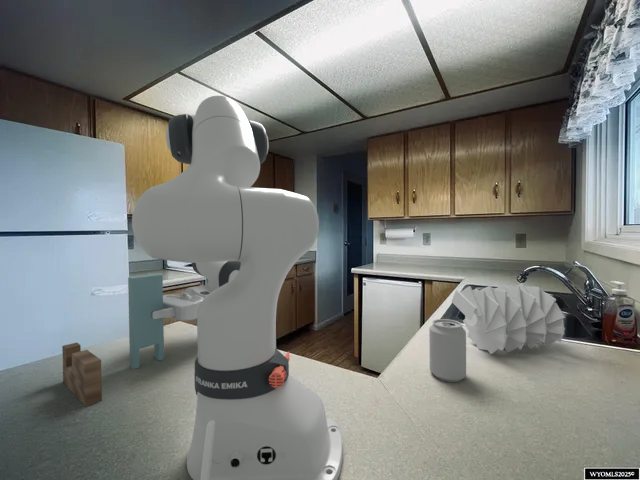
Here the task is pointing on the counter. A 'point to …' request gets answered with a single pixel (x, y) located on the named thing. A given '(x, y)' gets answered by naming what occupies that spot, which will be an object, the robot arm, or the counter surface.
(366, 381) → the counter surface
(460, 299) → the spiral staircase
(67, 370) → the notched walnut block
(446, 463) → the counter surface
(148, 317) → the teal plate
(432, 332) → the can
